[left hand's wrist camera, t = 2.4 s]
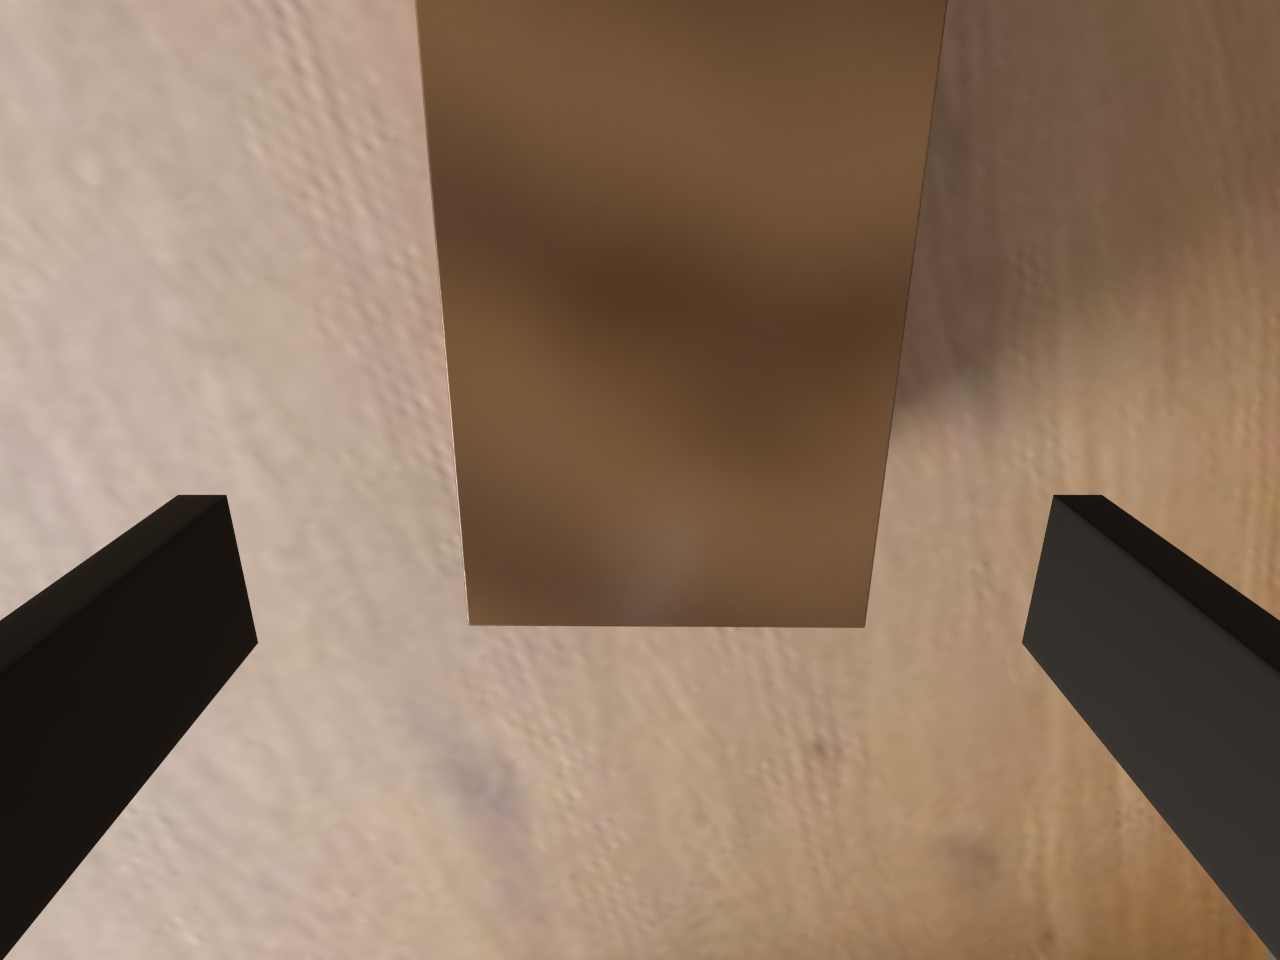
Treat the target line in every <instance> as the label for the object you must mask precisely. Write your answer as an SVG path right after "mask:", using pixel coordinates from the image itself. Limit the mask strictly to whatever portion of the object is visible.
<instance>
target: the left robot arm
mask: <svg viewBox="0 0 1280 960" xmlns="http://www.w3.org/2000/svg"><path fill="white" fill-rule="evenodd" d="M257 644H258V641H257V636H256V631H255V627H254V622H253V617H252V613H251V608H250V603H249V599H248V594H247V589H246V585H245V580H244V575H243V570H242V566H241V561H240V556H239V552H238V547H237V542H236V538H235V533H234V528H233V524H232V519H231V514H230V510H229V505H228V500H227V496H226V495H177V496H176V497H175V498H173V499H172V500H170V501H169V502H167V503H166V504H165V505H163V506H162V507H160V508H159V509H158V510H156V511H155V512H153V513H152V514H151V515H149V516H148V517H146V518H145V519H143V520H142V521H141V522H139V523H138V524H136V525H135V526H134V527H132V528H131V529H129V530H128V531H126V532H125V533H124V534H122V535H121V536H119V537H118V538H117V539H115V540H114V541H112V542H111V543H109V544H108V545H107V546H105V547H104V548H102V549H101V550H100V551H98V552H97V553H95V554H94V555H93V556H91V557H90V558H88V559H87V560H85V561H84V562H83V563H81V564H80V565H78V566H77V567H76V568H74V569H73V570H71V571H70V572H68V573H67V574H66V575H64V576H63V577H61V578H60V579H59V580H57V581H56V582H54V583H53V584H51V585H50V586H49V587H47V588H46V589H44V590H43V591H42V592H40V593H39V594H37V595H36V596H35V597H33V598H32V599H30V600H29V601H27V602H26V603H25V604H23V605H22V606H20V607H19V608H18V609H16V610H15V611H13V612H12V613H10V614H9V615H8V616H6V617H5V618H3V619H2V620H1V621H0V960H3V959H4V958H5V956H6V955H7V954H8V953H9V951H10V950H11V949H12V948H13V947H14V945H15V944H16V943H17V942H18V940H19V939H20V938H21V937H22V935H23V934H24V933H25V932H26V930H27V929H28V928H29V927H30V925H31V924H32V923H33V922H34V920H35V919H36V918H37V917H38V915H39V914H40V913H41V912H42V911H43V909H44V908H45V907H46V906H47V904H48V903H49V902H50V901H51V899H52V898H53V897H54V896H55V894H56V893H57V892H58V891H59V889H60V888H61V887H62V886H63V884H64V883H65V882H66V881H67V879H68V878H69V877H70V876H71V874H72V873H73V872H74V871H75V870H76V868H77V867H78V866H79V865H80V863H81V862H82V861H83V860H84V858H85V857H86V856H87V855H88V853H89V852H90V851H91V850H92V848H93V847H94V846H95V845H96V843H97V842H98V841H99V840H100V838H101V837H102V836H103V835H104V834H105V832H106V831H107V830H108V829H109V827H110V826H111V825H112V824H113V822H114V821H115V820H116V819H117V817H118V816H119V815H120V814H121V812H122V811H123V810H124V809H125V807H126V806H127V805H128V804H129V802H130V801H131V800H132V799H133V797H134V796H135V795H136V794H137V793H138V791H139V790H140V789H141V788H142V786H143V785H144V784H145V783H146V781H147V780H148V779H149V778H150V776H151V775H152V774H153V773H154V771H155V770H156V769H157V768H158V766H159V765H160V764H161V763H162V761H163V760H164V759H165V758H166V757H167V755H168V754H169V753H170V752H171V750H172V749H173V748H174V747H175V745H176V744H177V743H178V742H179V740H180V739H181V738H182V737H183V735H184V734H185V733H186V732H187V730H188V729H189V728H190V727H191V725H192V724H193V723H194V722H195V721H196V719H197V718H198V717H199V716H200V714H201V713H202V712H203V711H204V709H205V708H206V707H207V706H208V704H209V703H210V702H211V701H212V699H213V698H214V697H215V696H216V694H217V693H218V692H219V691H220V689H221V688H222V687H223V686H224V684H225V683H226V682H227V681H228V680H229V678H230V677H231V676H232V675H233V673H234V672H235V671H236V670H237V668H238V667H239V666H240V665H241V663H242V662H243V661H244V660H245V658H246V657H247V656H248V655H249V653H250V652H251V651H252V650H253V648H254V647H255V646H256V645H257ZM1022 644H1023V645H1024V646H1025V647H1026V648H1027V650H1028V651H1029V652H1030V653H1031V655H1032V656H1033V657H1034V658H1035V660H1036V661H1037V662H1038V663H1039V665H1040V666H1041V667H1042V668H1043V670H1044V671H1045V672H1046V673H1047V675H1048V676H1049V677H1050V678H1051V680H1052V681H1053V682H1054V683H1055V684H1056V686H1057V687H1058V688H1059V689H1060V691H1061V692H1062V693H1063V694H1064V696H1065V697H1066V698H1067V699H1068V701H1069V702H1070V703H1071V704H1072V706H1073V707H1074V708H1075V709H1076V711H1077V712H1078V713H1079V714H1080V716H1081V717H1082V718H1083V719H1084V721H1085V722H1086V723H1087V724H1088V725H1089V727H1090V728H1091V729H1092V730H1093V732H1094V733H1095V734H1096V735H1097V737H1098V738H1099V739H1100V740H1101V742H1102V743H1103V744H1104V745H1105V747H1106V748H1107V749H1108V750H1109V752H1110V753H1111V754H1112V755H1113V757H1114V758H1115V759H1116V760H1117V761H1118V763H1119V764H1120V765H1121V766H1122V768H1123V769H1124V770H1125V771H1126V773H1127V774H1128V775H1129V776H1130V778H1131V779H1132V780H1133V781H1134V783H1135V784H1136V785H1137V786H1138V788H1139V789H1140V790H1141V791H1142V793H1143V794H1144V795H1145V796H1146V797H1147V799H1148V800H1149V801H1150V802H1151V804H1152V805H1153V806H1154V807H1155V809H1156V810H1157V811H1158V812H1159V814H1160V815H1161V816H1162V817H1163V819H1164V820H1165V821H1166V822H1167V824H1168V825H1169V826H1170V827H1171V829H1172V830H1173V831H1174V832H1175V834H1176V835H1177V836H1178V837H1179V838H1180V840H1181V841H1182V842H1183V843H1184V845H1185V846H1186V847H1187V848H1188V850H1189V851H1190V852H1191V853H1192V855H1193V856H1194V857H1195V858H1196V860H1197V861H1198V862H1199V863H1200V865H1201V866H1202V867H1203V868H1204V870H1205V871H1206V872H1207V873H1208V874H1209V876H1210V877H1211V878H1212V879H1213V881H1214V882H1215V883H1216V884H1217V886H1218V887H1219V888H1220V889H1221V891H1222V892H1223V893H1224V894H1225V896H1226V897H1227V898H1228V899H1229V901H1230V902H1231V903H1232V904H1233V906H1234V907H1235V908H1236V909H1237V911H1238V912H1239V913H1240V914H1241V915H1242V917H1243V918H1244V919H1245V920H1246V922H1247V923H1248V924H1249V925H1250V927H1251V928H1252V929H1253V930H1254V932H1255V933H1256V934H1257V935H1258V937H1259V938H1260V939H1261V940H1262V942H1263V943H1264V944H1265V945H1266V947H1267V948H1268V949H1269V950H1270V951H1271V953H1272V954H1273V955H1274V956H1275V958H1276V959H1277V960H1280V621H1279V620H1278V619H1277V618H1275V617H1274V616H1272V615H1271V614H1270V613H1268V612H1267V611H1265V610H1264V609H1262V608H1261V607H1260V606H1258V605H1257V604H1255V603H1254V602H1253V601H1251V600H1250V599H1248V598H1247V597H1245V596H1244V595H1243V594H1241V593H1240V592H1238V591H1237V590H1236V589H1234V588H1233V587H1231V586H1230V585H1229V584H1227V583H1226V582H1224V581H1223V580H1221V579H1220V578H1219V577H1217V576H1216V575H1214V574H1213V573H1212V572H1210V571H1209V570H1207V569H1206V568H1204V567H1203V566H1202V565H1200V564H1199V563H1197V562H1196V561H1195V560H1193V559H1192V558H1190V557H1189V556H1187V555H1186V554H1185V553H1183V552H1182V551H1180V550H1179V549H1178V548H1176V547H1175V546H1173V545H1172V544H1171V543H1169V542H1168V541H1166V540H1165V539H1163V538H1162V537H1161V536H1159V535H1158V534H1156V533H1155V532H1154V531H1152V530H1151V529H1149V528H1148V527H1146V526H1145V525H1144V524H1142V523H1141V522H1139V521H1138V520H1137V519H1135V518H1134V517H1132V516H1131V515H1129V514H1128V513H1127V512H1125V511H1124V510H1122V509H1121V508H1120V507H1118V506H1117V505H1115V504H1114V503H1113V502H1111V501H1110V500H1108V499H1107V498H1105V497H1104V496H1103V495H1054V496H1053V500H1052V505H1051V510H1050V514H1049V519H1048V524H1047V528H1046V533H1045V538H1044V542H1043V547H1042V552H1041V556H1040V561H1039V566H1038V570H1037V575H1036V580H1035V584H1034V589H1033V594H1032V599H1031V603H1030V608H1029V613H1028V617H1027V622H1026V627H1025V631H1024V636H1023V641H1022Z"/></svg>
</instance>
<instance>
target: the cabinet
mask: <svg viewBox="0 0 1280 960" xmlns="http://www.w3.org/2000/svg"><path fill="white" fill-rule="evenodd" d="M947 2H948V0H415V9H416V21H417V33H418V45H419V56H420V68H421V80H422V91H423V103H424V115H425V127H426V138H427V150H428V162H429V174H430V185H431V197H432V209H433V220H434V232H435V244H436V256H437V267H438V279H439V291H440V303H441V314H442V326H443V338H444V349H445V361H446V373H447V385H448V396H449V408H450V420H451V432H452V443H453V455H454V467H455V478H456V490H457V502H458V514H459V525H460V537H461V549H462V561H463V572H464V584H465V596H466V607H467V619H468V625H485V626H649V627H814V628H864V627H865V622H866V614H867V607H868V599H869V591H870V584H871V576H872V569H873V561H874V554H875V546H876V539H877V531H878V523H879V516H880V508H881V501H882V493H883V486H884V478H885V470H886V463H887V455H888V448H889V440H890V433H891V425H892V418H893V410H894V402H895V395H896V387H897V380H898V372H899V365H900V357H901V350H902V342H903V334H904V327H905V319H906V312H907V304H908V297H909V289H910V282H911V274H912V266H913V259H914V251H915V244H916V236H917V229H918V221H919V214H920V206H921V198H922V191H923V183H924V176H925V168H926V161H927V153H928V145H929V138H930V130H931V123H932V115H933V108H934V100H935V93H936V85H937V77H938V70H939V62H940V55H941V47H942V40H943V32H944V25H945V17H946V9H947Z"/></svg>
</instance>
